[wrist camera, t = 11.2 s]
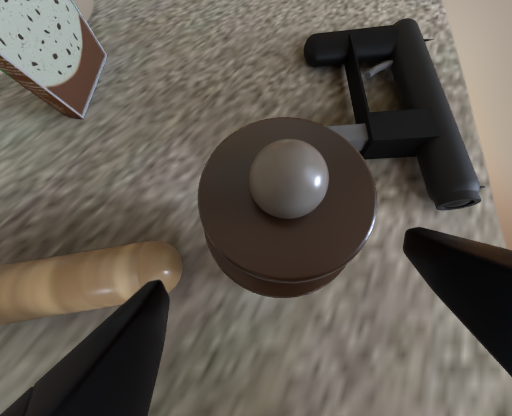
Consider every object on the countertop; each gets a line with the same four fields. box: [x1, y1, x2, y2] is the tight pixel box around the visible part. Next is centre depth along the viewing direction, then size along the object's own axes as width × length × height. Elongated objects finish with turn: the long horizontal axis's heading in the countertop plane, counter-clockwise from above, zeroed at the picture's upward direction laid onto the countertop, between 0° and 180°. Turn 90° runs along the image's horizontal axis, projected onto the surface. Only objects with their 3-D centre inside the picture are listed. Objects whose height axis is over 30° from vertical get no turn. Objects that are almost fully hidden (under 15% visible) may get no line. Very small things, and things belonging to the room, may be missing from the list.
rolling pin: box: [0, 241, 183, 325], centre depth 15 cm, size 15×4×4 cm, turn 99°
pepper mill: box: [198, 117, 377, 298], centre depth 10 cm, size 5×5×14 cm
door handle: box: [304, 18, 485, 210], centre depth 20 cm, size 3×20×16 cm
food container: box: [0, 0, 107, 119], centre depth 19 cm, size 12×6×10 cm, turn 178°
